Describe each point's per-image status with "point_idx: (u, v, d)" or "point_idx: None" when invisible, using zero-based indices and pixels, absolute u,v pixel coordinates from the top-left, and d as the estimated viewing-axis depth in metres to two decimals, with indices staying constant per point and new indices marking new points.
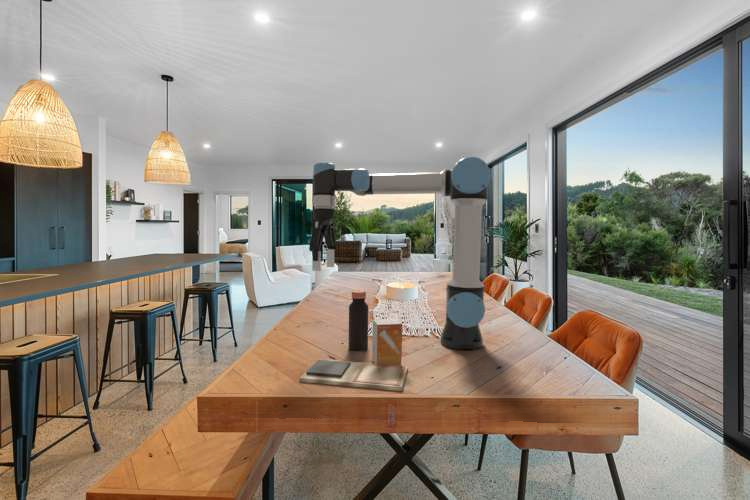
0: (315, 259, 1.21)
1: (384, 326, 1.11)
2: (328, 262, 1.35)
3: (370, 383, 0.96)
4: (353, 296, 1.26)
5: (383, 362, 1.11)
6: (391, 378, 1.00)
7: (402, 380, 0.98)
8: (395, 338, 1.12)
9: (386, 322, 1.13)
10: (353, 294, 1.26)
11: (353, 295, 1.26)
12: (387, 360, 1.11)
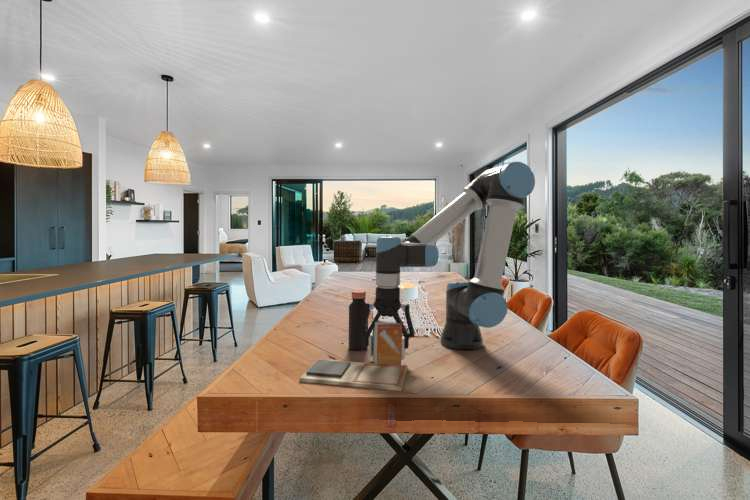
0: None
1: (384, 326, 1.11)
2: None
3: (370, 383, 0.96)
4: (353, 296, 1.26)
5: (383, 362, 1.11)
6: (391, 378, 1.00)
7: (402, 380, 0.98)
8: (395, 338, 1.12)
9: (386, 322, 1.13)
10: (353, 294, 1.26)
11: (353, 295, 1.26)
12: (387, 360, 1.11)
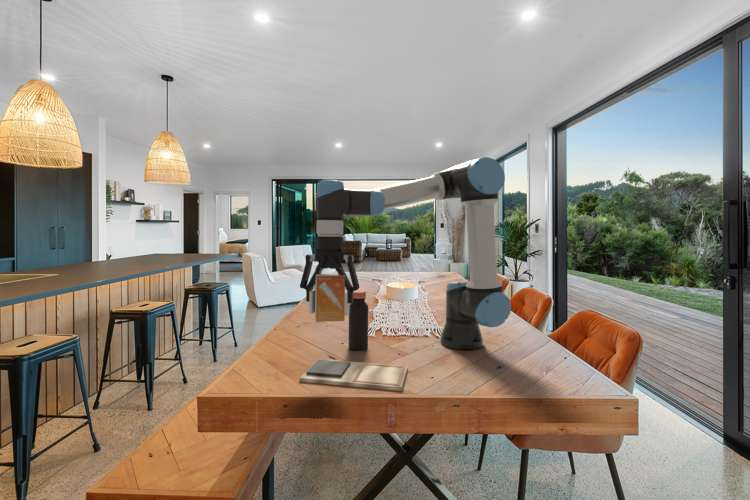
0: None
1: (324, 278, 1.01)
2: None
3: (370, 383, 0.96)
4: (353, 296, 1.26)
5: (323, 317, 1.01)
6: (391, 378, 1.00)
7: (402, 380, 0.98)
8: (337, 291, 1.02)
9: (328, 274, 1.03)
10: (353, 294, 1.26)
11: (353, 295, 1.26)
12: (328, 316, 1.02)
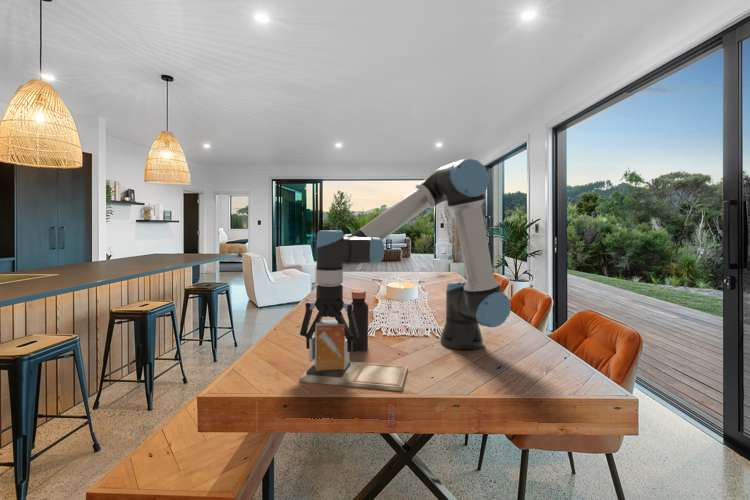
0: None
1: (324, 328, 1.01)
2: None
3: (370, 383, 0.96)
4: (353, 296, 1.26)
5: (323, 366, 1.02)
6: (391, 378, 1.00)
7: (402, 380, 0.98)
8: (337, 340, 1.03)
9: (327, 323, 1.04)
10: (353, 294, 1.26)
11: (353, 295, 1.26)
12: (328, 365, 1.02)
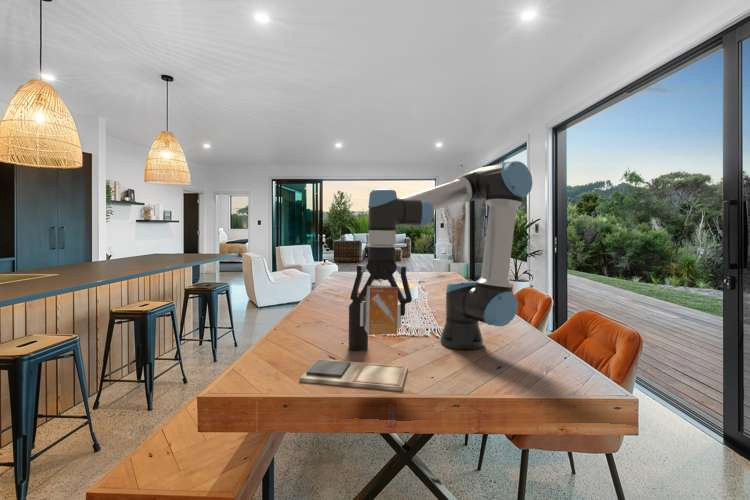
0: None
1: (377, 290, 0.98)
2: None
3: (370, 383, 0.96)
4: None
5: (376, 330, 0.99)
6: (391, 378, 1.00)
7: (402, 380, 0.98)
8: (390, 304, 0.99)
9: (380, 286, 1.00)
10: None
11: None
12: (381, 328, 0.99)
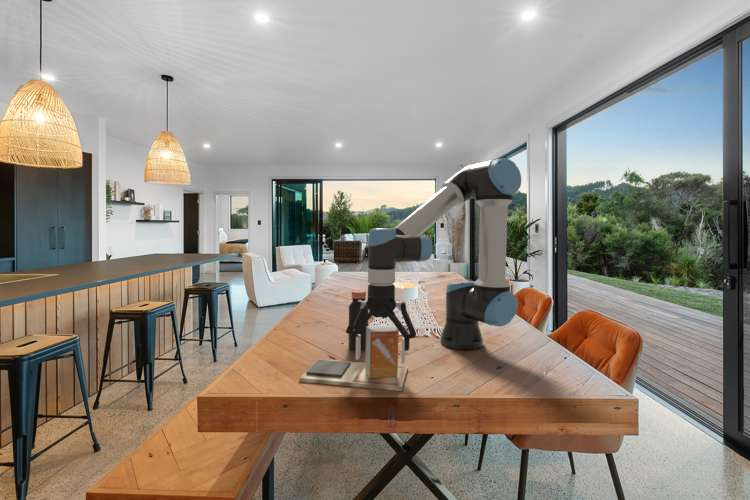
0: None
1: (378, 334, 0.99)
2: None
3: (370, 383, 0.96)
4: (353, 296, 1.26)
5: (376, 373, 0.99)
6: (391, 378, 1.00)
7: (402, 380, 0.98)
8: (391, 347, 1.00)
9: (380, 329, 1.01)
10: (353, 294, 1.26)
11: (353, 295, 1.26)
12: (381, 372, 1.00)
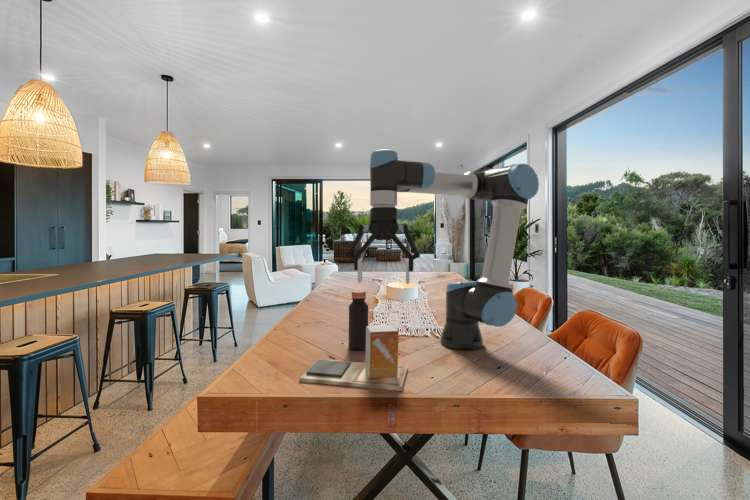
0: None
1: (378, 334, 0.99)
2: None
3: (370, 383, 0.96)
4: (353, 296, 1.26)
5: (376, 373, 0.99)
6: (391, 378, 1.00)
7: (402, 380, 0.98)
8: (391, 347, 1.00)
9: (380, 329, 1.01)
10: (353, 294, 1.26)
11: (353, 295, 1.26)
12: (381, 372, 1.00)
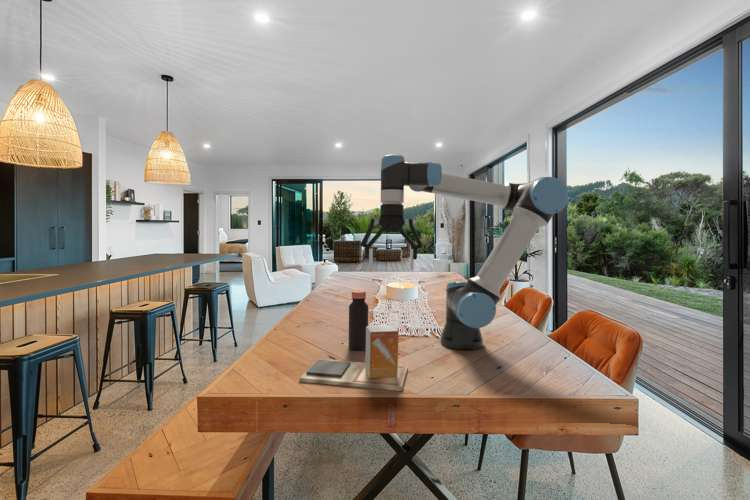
0: None
1: (378, 334, 0.99)
2: None
3: (370, 383, 0.96)
4: (353, 296, 1.26)
5: (376, 373, 0.99)
6: (391, 378, 1.00)
7: (402, 380, 0.98)
8: (391, 347, 1.00)
9: (380, 329, 1.01)
10: (353, 294, 1.26)
11: (353, 295, 1.26)
12: (381, 372, 1.00)
